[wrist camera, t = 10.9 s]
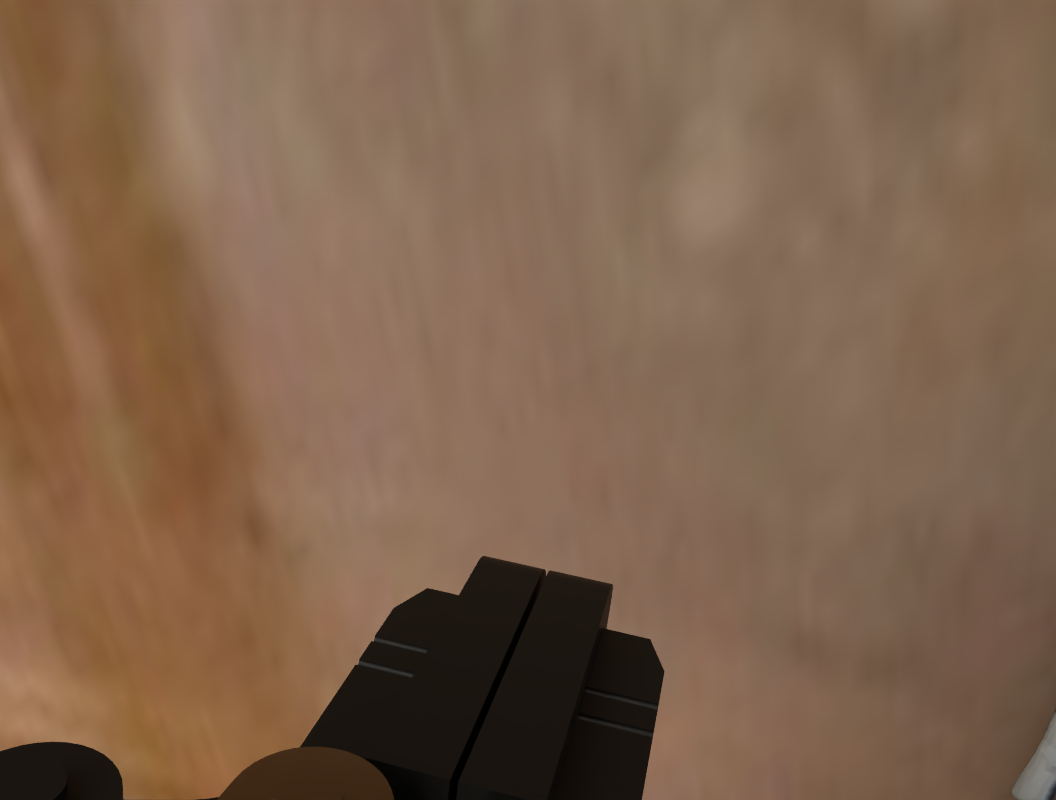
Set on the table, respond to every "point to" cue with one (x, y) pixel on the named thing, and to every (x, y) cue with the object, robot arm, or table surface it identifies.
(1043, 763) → the towel
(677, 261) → the table surface
